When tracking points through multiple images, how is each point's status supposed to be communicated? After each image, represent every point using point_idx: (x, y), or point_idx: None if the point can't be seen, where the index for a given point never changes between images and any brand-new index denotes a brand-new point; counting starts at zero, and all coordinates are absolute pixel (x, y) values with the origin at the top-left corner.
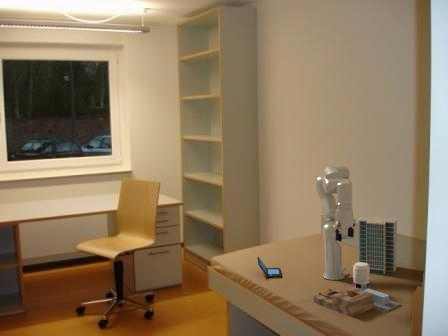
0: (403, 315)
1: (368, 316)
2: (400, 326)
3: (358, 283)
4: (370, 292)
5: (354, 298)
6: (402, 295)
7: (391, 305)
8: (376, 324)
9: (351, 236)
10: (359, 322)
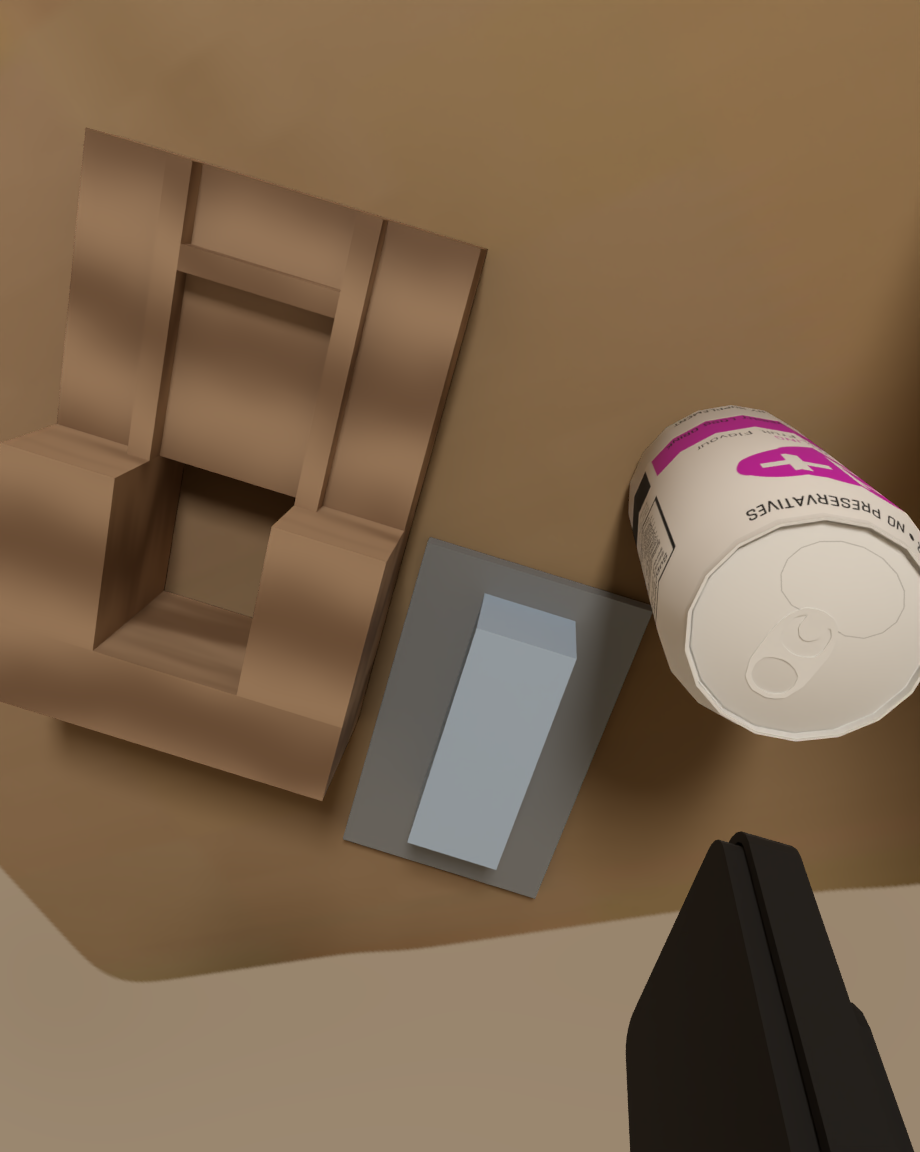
0: (348, 934)
1: None
2: (156, 948)
3: (638, 530)
4: (471, 707)
5: (88, 680)
6: None
7: None
8: (76, 816)
9: (643, 1015)
10: None
